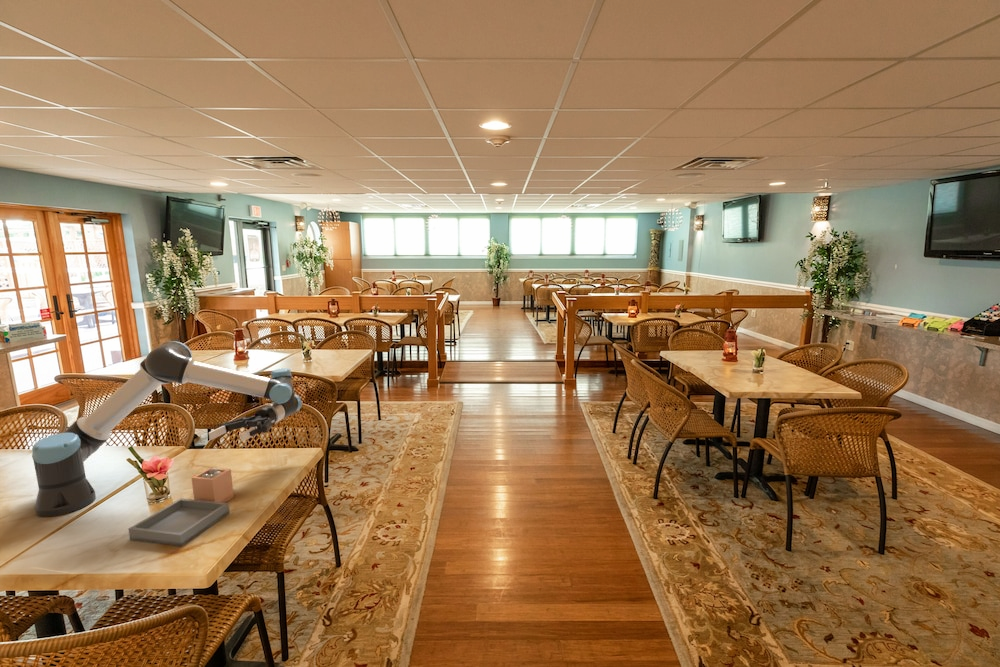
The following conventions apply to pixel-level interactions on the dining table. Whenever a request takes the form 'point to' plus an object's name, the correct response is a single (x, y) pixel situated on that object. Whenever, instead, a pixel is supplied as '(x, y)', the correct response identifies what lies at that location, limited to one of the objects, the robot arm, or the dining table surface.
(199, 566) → the dining table surface
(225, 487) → the peach box
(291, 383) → the robot arm
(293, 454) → the dining table surface
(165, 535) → the slate dish
